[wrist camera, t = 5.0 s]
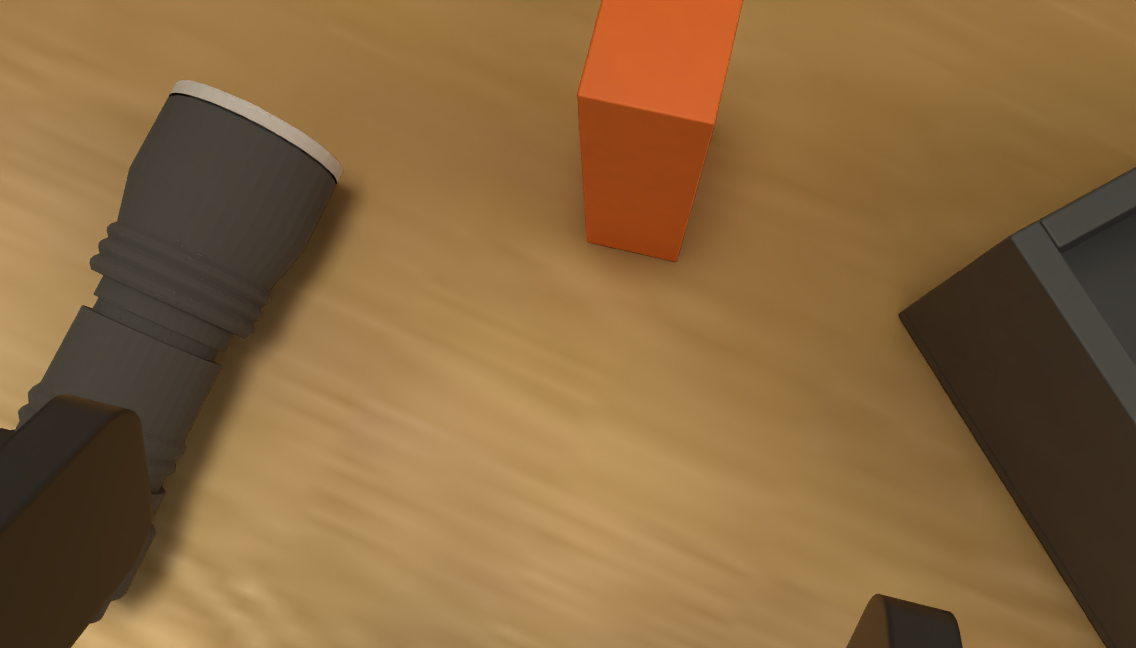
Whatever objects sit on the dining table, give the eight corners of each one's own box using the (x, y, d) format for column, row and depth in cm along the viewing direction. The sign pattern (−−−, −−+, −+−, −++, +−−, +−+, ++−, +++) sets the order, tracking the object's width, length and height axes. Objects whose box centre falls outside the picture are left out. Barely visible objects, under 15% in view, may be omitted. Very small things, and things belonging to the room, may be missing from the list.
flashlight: (143, 631, 29) (40, 657, 24) (-7, 557, 30) (-139, 567, 25) (362, 190, 32) (313, 125, 26) (219, 131, 32) (144, 56, 27)
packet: (676, 262, 31) (714, 125, 20) (586, 242, 31) (576, 95, 20) (709, 121, 32) (762, -83, 21) (621, 102, 32) (629, -108, 21)
